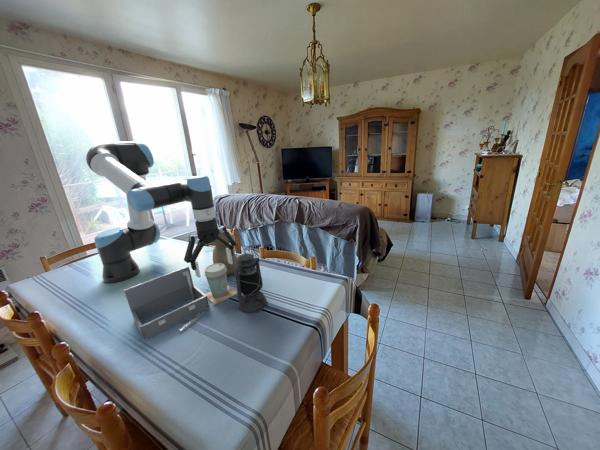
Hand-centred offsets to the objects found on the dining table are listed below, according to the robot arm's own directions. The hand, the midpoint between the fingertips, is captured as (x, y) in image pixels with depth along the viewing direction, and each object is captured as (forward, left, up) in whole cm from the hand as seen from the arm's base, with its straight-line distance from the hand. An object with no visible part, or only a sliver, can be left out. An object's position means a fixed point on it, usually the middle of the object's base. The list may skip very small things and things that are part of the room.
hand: (215, 269), depth 98 cm
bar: (+8, -15, -12) cm, 21 cm away
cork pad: (0, 0, -11) cm, 11 cm away
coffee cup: (0, 0, -11) cm, 11 cm away
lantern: (+16, +5, -12) cm, 21 cm away
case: (-2, -18, -11) cm, 21 cm away
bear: (-14, +14, -12) cm, 23 cm away
